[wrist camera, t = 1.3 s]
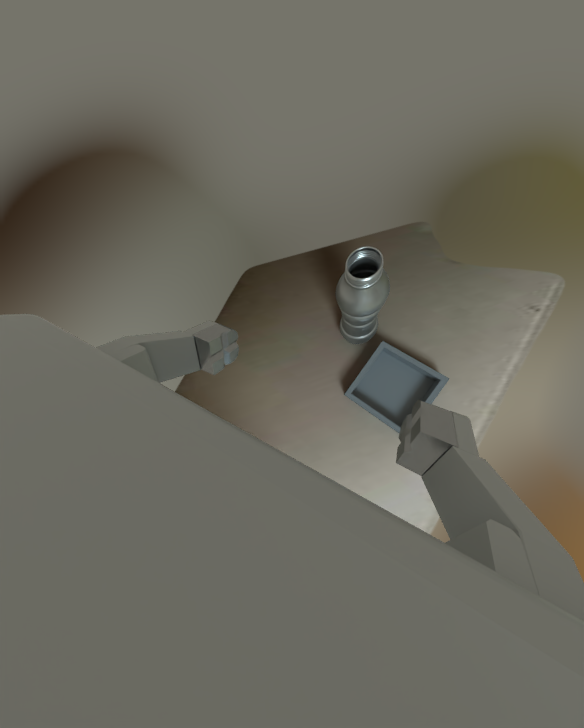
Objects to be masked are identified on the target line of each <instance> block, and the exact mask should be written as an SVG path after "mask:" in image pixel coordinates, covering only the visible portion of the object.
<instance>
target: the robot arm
mask: <svg viewBox="0 0 584 728" xmlns="http://www.w3.org/2000/svg"><path fill="white" fill-rule="evenodd" d="M237 339H238V334H237V332H236V331H235V330H233V329H231V328H228V327H226V326H223V325H221V324H218V323H216V322H213V321H206V322H204V323H202V324H200V325H197V326H195V327H193V328H191V329H188V330H186V331H184V332H182V331H175V332H165V333H155V334H145V335H135V336H126V337H122V338H120V339H117V340H114V341H112V342H109V343H106V344H104V345H101V346H98V347H96V348H95V347H94V346H92V345H90V344H88V343H86V342H85V341H83V340H81V339H79V338H78V337H76V336H74V335H72V334H70V333H69V332H67V331H65V330H63V329H62V328H60V327H58V326H56V325H54V324H53V323H51V322H49V321H47V320H46V319H43V318H42V317H39V316H37V315H32V314H13V315H0V728H584V583H583V580H582V578H581V576H580V574H579V571H578V569H577V567H576V565H575V562H574V560H573V558H572V557H571V556H570V555H569V554H568V553H567V551H566V550H565V549H564V548H563V547H562V546H561V545H560V543H559V542H558V541H557V540H556V539H555V538H554V537H553V536H552V534H551V533H550V532H549V531H548V530H547V529H546V528H545V527H544V525H543V524H542V523H541V522H540V521H539V520H538V519H537V517H536V516H535V515H534V514H533V513H532V512H531V511H530V510H529V508H528V507H526V505H525V504H524V503H523V502H522V501H521V500H520V498H519V497H518V496H517V495H516V494H515V493H514V492H513V491H512V489H511V488H510V487H509V486H508V485H507V484H506V482H505V481H504V480H503V479H502V478H501V477H500V476H499V475H498V474H497V473H496V471H495V470H494V469H493V468H492V467H491V466H490V465H489V463H488V462H487V461H486V460H485V459H483V458H480V457H479V455H478V450H477V446H476V442H475V438H474V434H473V430H472V426H471V422H470V419H469V418H468V417H466V416H464V415H461V414H458V413H455V412H452V411H448V410H445V409H443V408H440V407H437V406H434V405H432V404H429V403H426V402H424V401H421V400H418V401H417V402H416V403H415V404H414V406H413V408H412V414H409V415H407V416H406V418H405V420H404V421H403V424H402V426H401V429H400V433H399V439H400V441H401V444H400V445H399V446H398V449H397V459H396V463H397V464H399V465H401V466H403V467H405V468H407V469H409V470H411V471H413V472H415V473H417V474H419V475H421V476H422V479H423V482H424V484H425V486H426V488H427V490H428V492H429V495H430V497H431V499H432V501H433V503H434V505H435V507H436V510H437V512H438V514H439V516H440V518H441V520H442V522H443V524H444V527H445V529H446V531H447V533H448V535H449V537H450V541H448V542H446V543H444V542H442V541H440V540H438V539H436V538H435V537H433V536H431V535H430V534H428V533H426V532H424V531H422V530H421V529H419V528H417V527H415V526H413V525H412V524H410V523H408V522H406V521H405V520H403V519H401V518H399V517H397V516H396V515H394V514H392V513H390V512H388V511H387V510H385V509H383V508H381V507H379V506H378V505H376V504H374V503H372V502H371V501H369V500H367V499H365V498H363V497H362V496H360V495H358V494H356V493H354V492H353V491H351V490H349V489H347V488H346V487H344V486H342V485H340V484H338V483H337V482H335V481H333V480H331V479H329V478H328V477H326V476H324V475H322V474H321V473H319V472H317V471H315V470H313V469H312V468H310V467H308V466H306V465H304V464H303V463H301V462H299V461H297V460H296V459H294V458H292V457H290V456H288V455H287V454H285V453H283V452H281V451H279V450H278V449H276V448H274V447H272V446H270V445H269V444H267V443H265V442H263V441H262V440H260V439H258V438H256V437H254V436H253V435H251V434H249V433H247V432H245V431H244V430H242V429H240V428H238V427H236V426H235V425H233V424H231V423H229V422H227V421H226V420H224V419H222V418H220V417H219V416H217V415H215V414H213V413H211V412H210V411H208V410H206V409H204V408H203V407H201V406H199V405H197V404H195V403H194V402H192V401H190V400H188V399H187V398H185V397H183V396H181V395H179V394H178V393H176V392H174V391H172V390H171V389H169V388H167V387H165V386H163V385H162V384H160V382H163V381H166V380H169V379H173V378H176V377H179V376H183V375H186V374H189V373H192V372H196V371H199V370H200V369H201V370H204V371H206V372H208V373H210V374H213V375H215V374H217V373H218V372H219V371H221V370H222V369H224V367H225V365H226V364H230V363H232V362H233V361H234V360H235V359H236V357H237V356H238V352H239V347H238V345H237V343H236V341H237Z"/></svg>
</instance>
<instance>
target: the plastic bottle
mask: <svg viewBox="0 0 584 728" xmlns="http://www.w3.org/2000/svg"><path fill="white" fill-rule="evenodd" d="M389 292H390V282H389V278H388V275H387V273H386V272H385V270H384V269H383V256H382V253H381V252H380V251H379V250H378V249H376V248H374V247H371V246H365V247H360V248H358V249H356V250H354V251H353V252H352V253H351V254H350V255H349V257H348V258H347V261H346V264H345V272H344V273H343V274H342V276H341V277H340V279H339V281H338V284H337V287H336V293H335V294H336V300H337V303H338V306H339V308H340V310H341V313H342V318H341V321H340V332H341V334H342V336H343V337H344V339H345V340H346V341H348V342H350V343H352V344H362V343H365V342H367V341H368V340H370V339H371V338H372V337H373V336H374V334H375V333H376V331H377V328H378V318H377V315H378V313H379V310H380V309H381V308H382V306H383V305H384V303H385V301H386V299H387V297H388V295H389Z"/></svg>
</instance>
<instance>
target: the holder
mask: <svg viewBox="0 0 584 728" xmlns="http://www.w3.org/2000/svg"><path fill="white" fill-rule="evenodd" d="M448 380H449V378H447V377H446V376H444V375H442V374H440V373H439V372H437V371H435V370H433V369H432V368H430V367H428V366H426V365H424V364H423V363H421V362H419V361H417V360H416V359H414V358H412V357H410V356H409V355H407V354H405V353H403V352H401V351H400V350H398V349H396V348H394V347H393V346H391V345H389V344H387V343H386V342H384V341H382V342H381V344H380V345H379V347H378V348H377V349H376V351H375V352H374V354H373V355H372V356H371V358H370V359H369V361H368V362H367V363H366V365H365V366H364V368H363V369H362V370H361V372H360V373H359V375H358V376H357V377H356V379H355V380H354V382H353V383H352V384H351V386H350V387H349V389H348V390H347V391H346V393H345V394H344V395H345V396H347V397H348V398H349V399H351V400H352V401H354V402H355V403H357V404H358V405H359V406H361V407H362V408H364V409H365V410H367V411H368V412H369V413H371V414H372V415H374V416H375V417H377V418H378V419H379V420H381V421H382V422H384V423H385V424H387V425H388V426H389V427H391V428H392V429H394V430H395V431H396V432H398V433H400V429H401V426H402V424H403V421H404V420H405V418H406V416H407V415H409V414H412V408H413V406H414V404H415V403H416V402H417V401H418V400H421V401H424V402H426V403H429V404H432V402H433V401H434V399H435V398H436V397H437V395H438V394H439V392H440V391H441V390H442V388H443V387H444V385H445V384H446V383H447V381H448Z"/></svg>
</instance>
